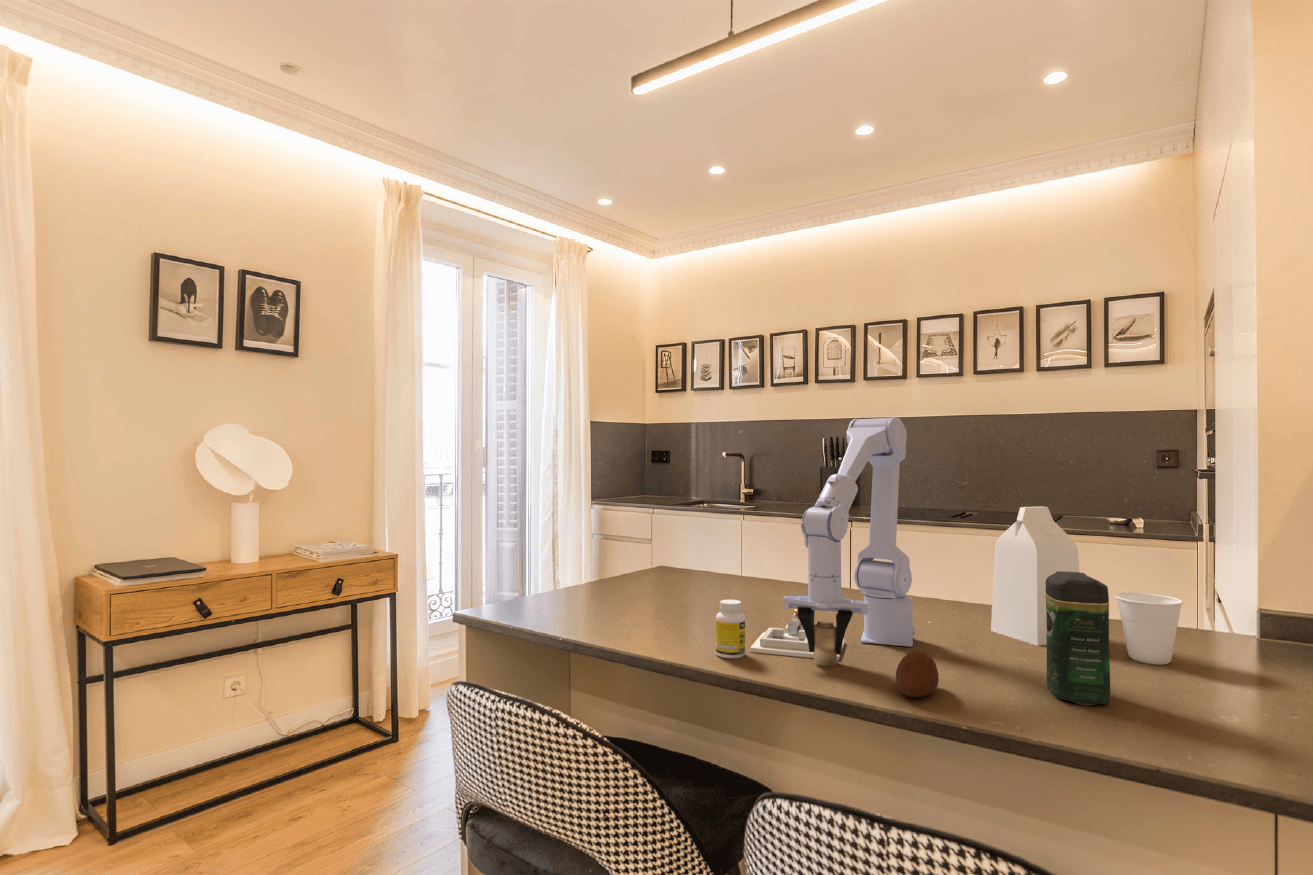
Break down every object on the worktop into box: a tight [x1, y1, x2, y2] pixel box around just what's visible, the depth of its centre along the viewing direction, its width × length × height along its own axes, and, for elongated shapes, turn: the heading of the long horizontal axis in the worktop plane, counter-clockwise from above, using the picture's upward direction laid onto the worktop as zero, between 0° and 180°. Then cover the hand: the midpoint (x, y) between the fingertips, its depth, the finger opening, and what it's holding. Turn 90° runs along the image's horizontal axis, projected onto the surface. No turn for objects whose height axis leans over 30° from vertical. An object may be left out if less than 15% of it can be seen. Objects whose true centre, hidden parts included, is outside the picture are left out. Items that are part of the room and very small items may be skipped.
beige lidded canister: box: [813, 620, 838, 667], centre depth 121 cm, size 4×4×7 cm
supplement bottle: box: [715, 599, 746, 659], centre depth 126 cm, size 5×5×10 cm
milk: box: [990, 506, 1080, 647], centre depth 139 cm, size 12×12×26 cm
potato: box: [895, 649, 940, 698], centre depth 105 cm, size 6×12×6 cm, turn 149°
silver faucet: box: [787, 608, 802, 635], centre depth 140 cm, size 2×8×4 cm, turn 159°
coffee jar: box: [1045, 571, 1111, 706], centre depth 104 cm, size 10×8×19 cm
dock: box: [749, 623, 845, 662], centre depth 135 cm, size 16×22×2 cm
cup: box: [1114, 592, 1184, 666], centre depth 122 cm, size 10×10×11 cm
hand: (825, 651), depth 121 cm, fingers closed on beige lidded canister, 4 cm apart
